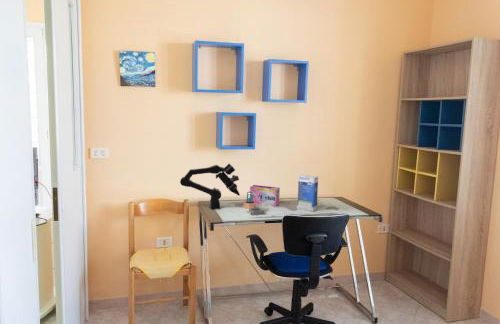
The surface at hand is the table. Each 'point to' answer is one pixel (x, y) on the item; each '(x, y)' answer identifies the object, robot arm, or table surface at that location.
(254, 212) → the tray
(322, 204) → the table surface
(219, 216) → the table surface
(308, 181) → the string lights box
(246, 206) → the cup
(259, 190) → the gum box
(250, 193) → the battery
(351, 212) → the table surface
